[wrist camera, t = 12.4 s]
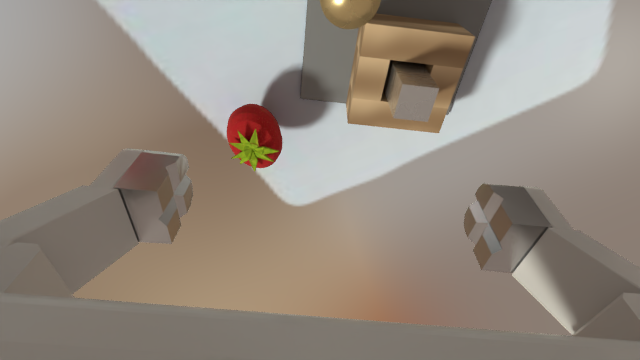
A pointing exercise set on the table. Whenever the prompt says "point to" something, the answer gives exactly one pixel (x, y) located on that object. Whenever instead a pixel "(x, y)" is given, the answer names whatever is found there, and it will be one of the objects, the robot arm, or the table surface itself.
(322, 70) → the mat
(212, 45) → the table surface
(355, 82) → the socket block
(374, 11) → the round bit
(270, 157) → the strawberry
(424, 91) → the square bit
